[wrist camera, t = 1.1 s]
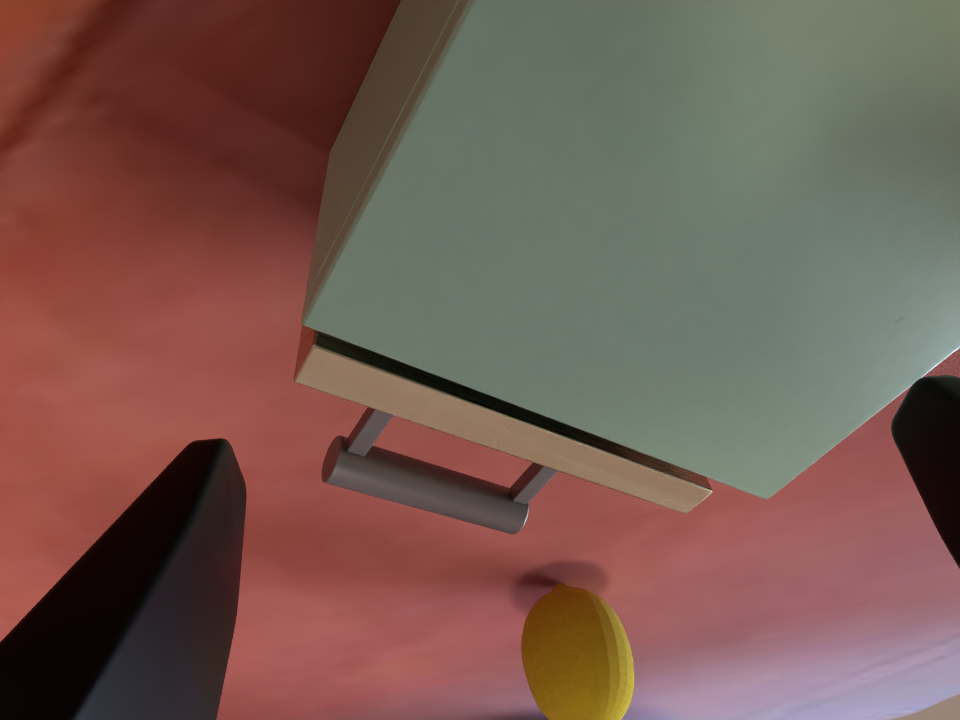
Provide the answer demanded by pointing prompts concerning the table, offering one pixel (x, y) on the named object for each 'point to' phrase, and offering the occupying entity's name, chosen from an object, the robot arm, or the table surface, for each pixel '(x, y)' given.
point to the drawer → (475, 420)
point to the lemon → (577, 657)
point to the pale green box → (656, 216)
